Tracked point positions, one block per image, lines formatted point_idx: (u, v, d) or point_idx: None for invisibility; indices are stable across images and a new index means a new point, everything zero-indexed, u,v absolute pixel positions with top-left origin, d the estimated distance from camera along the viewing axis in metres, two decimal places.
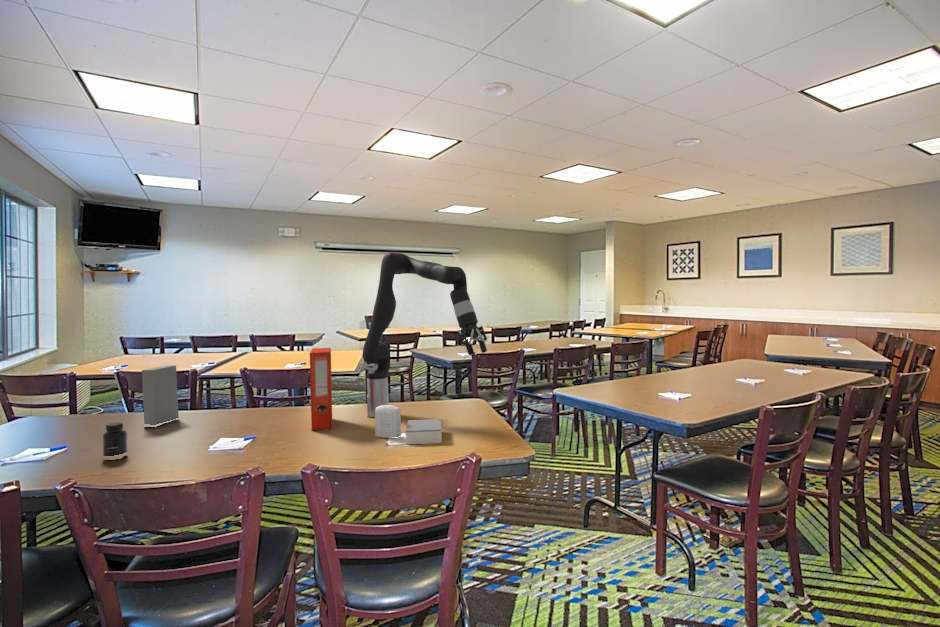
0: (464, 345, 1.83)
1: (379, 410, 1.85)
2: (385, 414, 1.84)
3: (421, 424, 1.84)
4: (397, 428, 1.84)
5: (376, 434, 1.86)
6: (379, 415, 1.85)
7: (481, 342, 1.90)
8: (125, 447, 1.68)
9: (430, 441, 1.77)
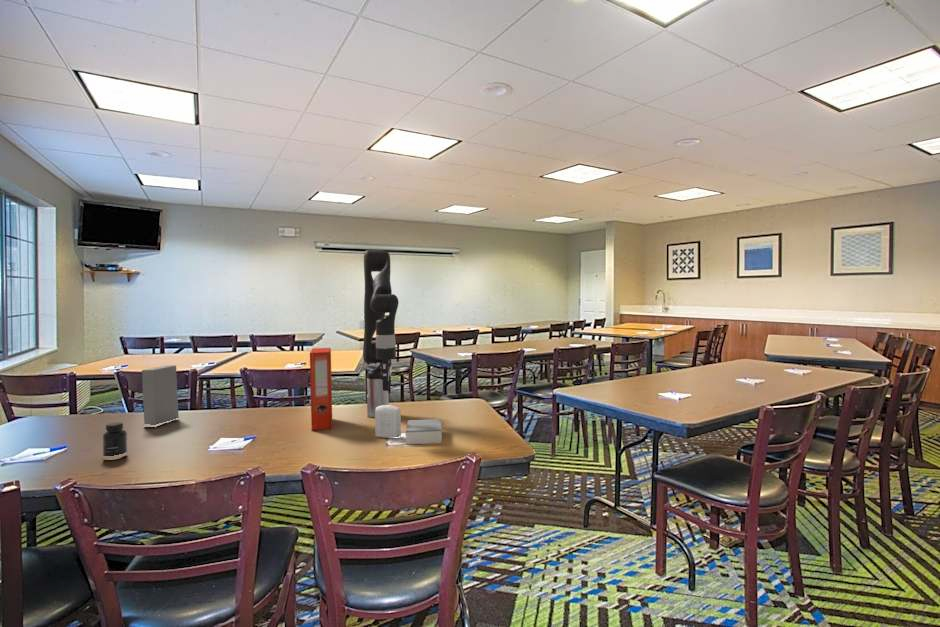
0: (382, 380, 1.80)
1: (379, 410, 1.85)
2: (385, 414, 1.84)
3: (421, 424, 1.84)
4: (398, 428, 1.84)
5: (376, 434, 1.86)
6: (379, 415, 1.85)
7: (388, 376, 1.89)
8: (125, 447, 1.68)
9: (430, 441, 1.77)
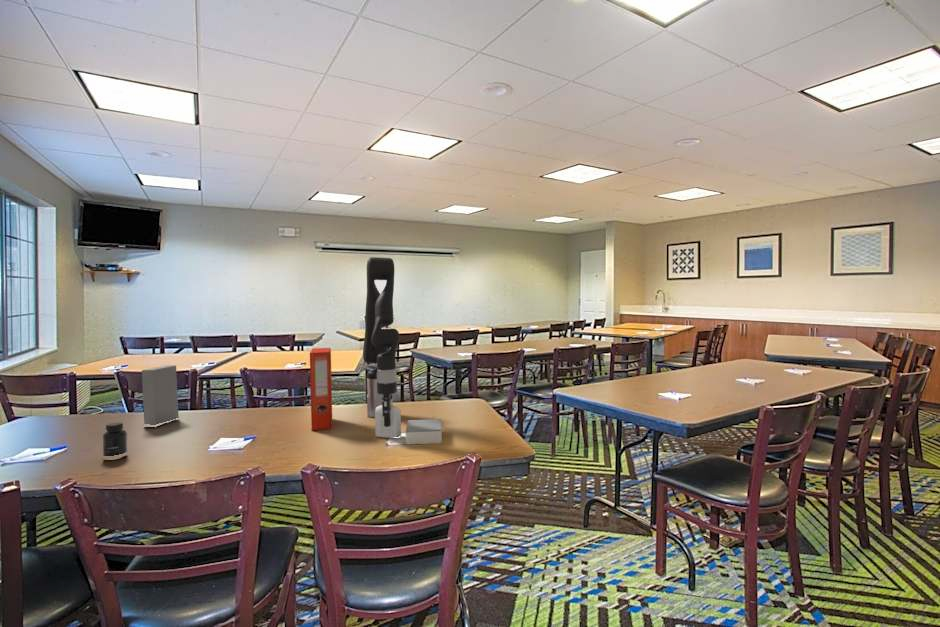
0: (383, 416, 1.82)
1: (379, 410, 1.85)
2: None
3: (421, 424, 1.84)
4: (398, 428, 1.84)
5: (376, 434, 1.86)
6: (379, 415, 1.85)
7: None
8: (125, 447, 1.68)
9: (430, 441, 1.77)
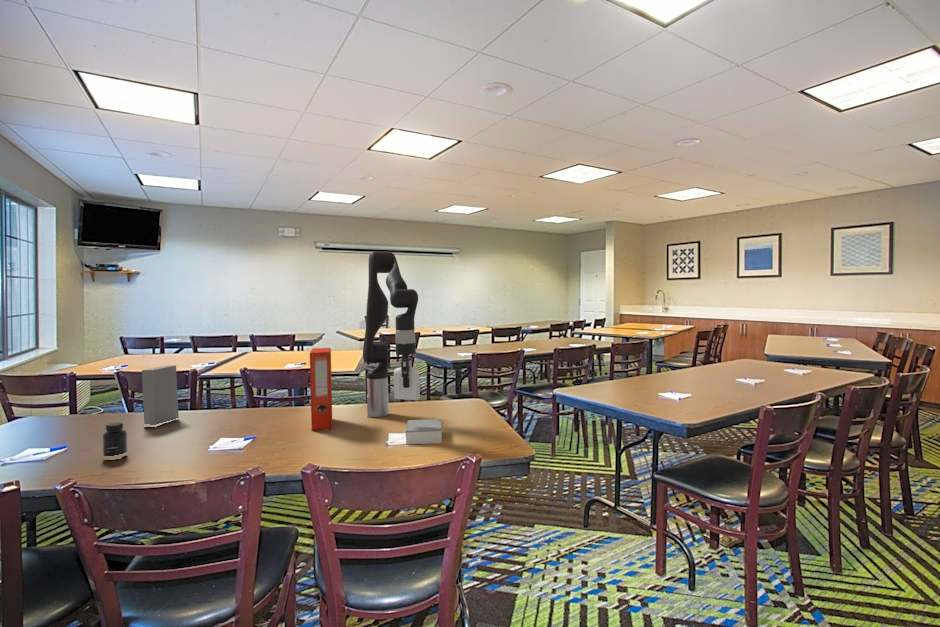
0: (402, 376, 1.79)
1: (398, 371, 1.82)
2: None
3: (421, 424, 1.84)
4: (417, 389, 1.81)
5: (395, 396, 1.83)
6: (398, 377, 1.82)
7: None
8: (125, 447, 1.68)
9: (430, 441, 1.77)
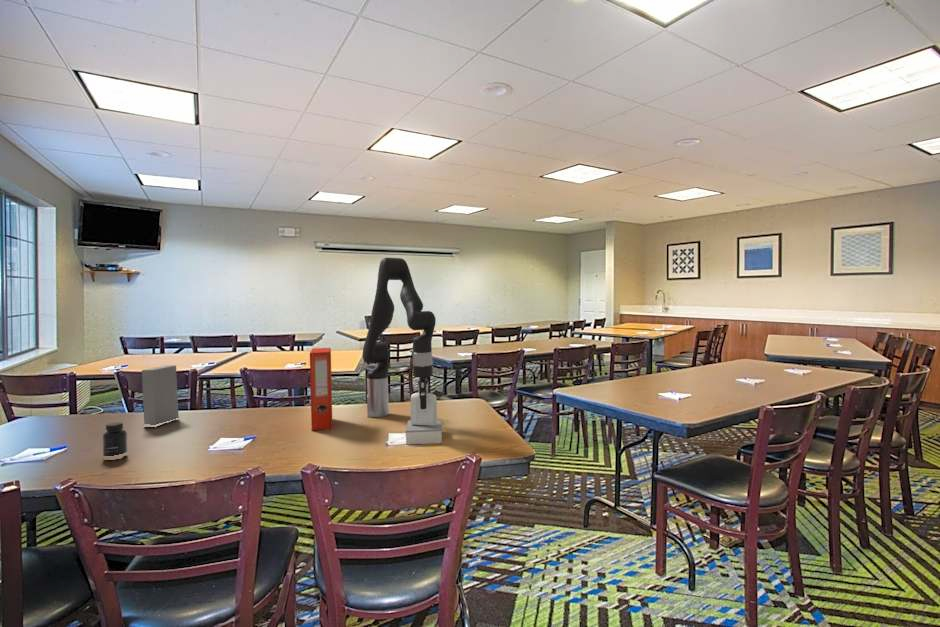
0: None
1: (416, 397, 1.82)
2: None
3: None
4: (434, 415, 1.82)
5: (412, 422, 1.83)
6: (415, 402, 1.82)
7: None
8: (125, 447, 1.68)
9: (430, 441, 1.77)
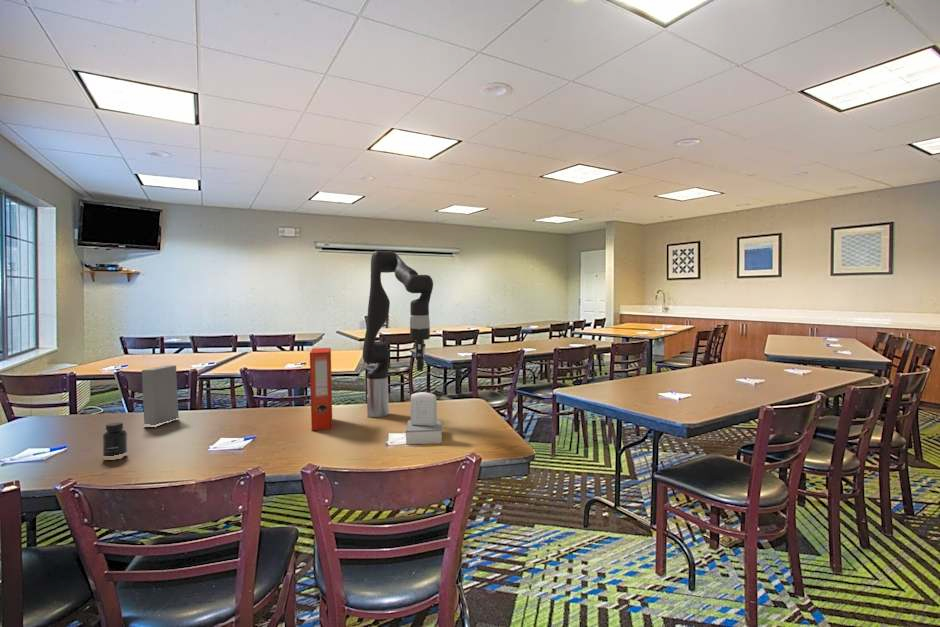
0: None
1: (415, 397, 1.82)
2: (421, 401, 1.81)
3: None
4: (434, 415, 1.82)
5: (412, 422, 1.83)
6: (415, 403, 1.82)
7: (421, 356, 1.90)
8: (125, 447, 1.68)
9: (430, 441, 1.77)
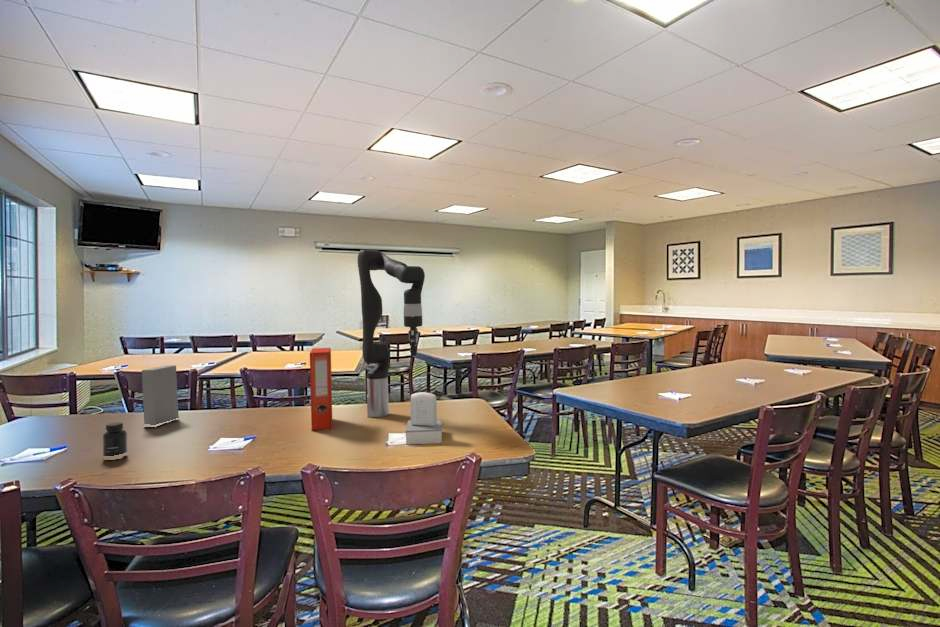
0: (410, 345, 1.93)
1: (415, 397, 1.82)
2: (421, 401, 1.81)
3: None
4: (434, 415, 1.82)
5: (412, 422, 1.83)
6: (415, 403, 1.82)
7: None
8: (125, 447, 1.68)
9: (430, 441, 1.77)
